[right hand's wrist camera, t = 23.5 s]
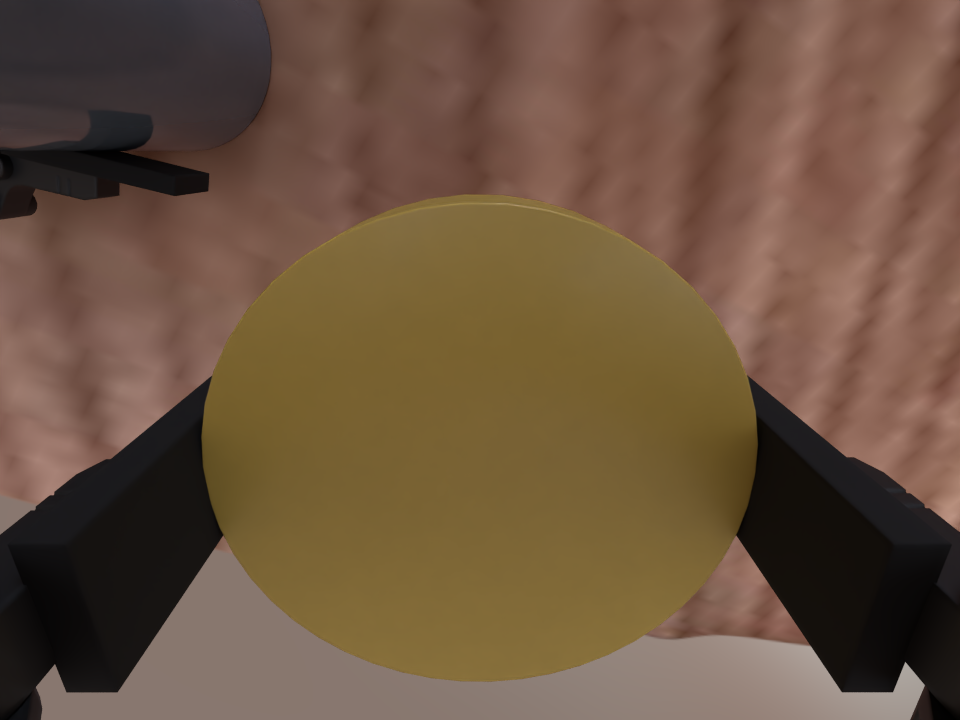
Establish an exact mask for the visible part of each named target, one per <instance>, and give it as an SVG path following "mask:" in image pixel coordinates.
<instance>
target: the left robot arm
mask: <svg viewBox="0 0 960 720" xmlns="http://www.w3.org/2000/svg"><path fill="white" fill-rule="evenodd" d="M119 183H123V184H127V185H131V186H136V187H140V188H144V189H148V190H152V191H156V192H160V193H164V194H168V195H173V196H178V195H185V194H192V193H199V192H206V191H208V187H209V173H205V172H201V171H197V170H193V169H189V168H185V167H181V166H177V165H173V164H169V163H165V162H161V161H156V160H152V159H148V158H144V157H140V156H136V155H132V154H128V153H124V152H120V151H0V220H1V219H8V218H15V217H21V216H28V215H32V214H33V213H35V211H36V209H37V202H36V199H35V197H34V196H33V193H34V191H35V189H40V190H45V191H49V192H53V193H57V194H61V195H65V196H71V197H74V198H78V199H82V200H89V199H98V198H106V197H113V196H119Z"/></svg>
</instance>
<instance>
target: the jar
mask: <svg viewBox="0 0 960 720" xmlns="http://www.w3.org/2000/svg"><path fill="white" fill-rule="evenodd" d="M270 70H271V49H270V40H269V34H268V30H267V26H266V22H265V19H264V16H263V13H262V10H261V7H260V5H259V3H258V1H257V0H0V151H201V150H208V149H211V148H215V147H218V146H221V145H223V144H225V143H227V142H229V141H231V140H232V139H233V138H235V137H236V136H238V135H239V134H240V133H241V132H242V131H243V130H244V129H246V128H247V127H248V125H249V124H250V123H251V122H252V120H253V119H254V118H255V116H256V114H257V113H258V111H259V109H260V107H261V106H262V103H263V100H264V98H265V95H266V92H267V88H268V84H269V79H270Z"/></svg>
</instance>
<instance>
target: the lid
mask: <svg viewBox="0 0 960 720" xmlns="http://www.w3.org/2000/svg"><path fill="white" fill-rule="evenodd" d="M201 439H202V459H203V469H204V474H205V478H206V483H207V488H208V492H209V497H210V501H211V505H212V508H213V511H214V513H215V516H216V519H217V522H218V525H219V527H220V529H221V531H222V533H223V535H224V537H225V539H226V541H227V543H228V544H229V546H230V548H231V550H232V552H233V554H234V555H235V557H236V558H237V560H238V561H239V563H240V564H241V565H242V567H243V568H244V570H245V571H246V572H247V574H248V575H249V577H250V578H251V579H252V580H253V581H254V583H255V584H256V585H257V586H258V587H259V588H260V589H261V590H262V591H263V592H264V594H265V595H266V596H267V597H268V598H269V599H270V600H271V601H272V602H273V603H274V604H275V605H276V606H278V607H279V608H280V609H281V610H282V611H283V612H285V613H286V614H287V615H288V616H289V617H290V618H291V619H293V620H294V621H295V622H297V623H298V624H300V625H301V626H302V627H304V628H305V629H307V630H308V631H310V632H311V633H313V634H314V635H316V636H317V637H319V638H320V639H322V640H324V641H326V642H328V643H330V644H331V645H333V646H335V647H337V648H339V649H341V650H342V651H344V652H347V653H349V654H351V655H354V656H356V657H359V658H361V659H363V660H366V661H368V662H371V663H373V664H376V665H380V666H383V667H386V668H390V669H393V670H396V671H399V672H403V673H408V674H414V675H418V676H423V677H428V678H435V679H445V680H454V681H485V682H492V681H504V680H517V679H524V678H530V677H536V676H542V675H547V674H552V673H556V672H559V671H563V670H566V669H570V668H573V667H577V666H581V665H583V664H586V663H588V662H591V661H593V660H596V659H599V658H601V657H604V656H606V655H609V654H611V653H612V652H614V651H616V650H618V649H620V648H622V647H624V646H626V645H628V644H630V643H632V642H634V641H636V640H637V639H639V638H640V637H642V636H643V635H645V634H647V633H648V632H650V631H651V630H653V629H654V628H656V627H657V626H659V625H660V624H661V623H663V622H664V621H665V620H666V619H668V618H669V617H670V616H671V615H672V614H674V613H675V612H676V611H677V610H679V609H680V608H681V607H682V606H683V605H684V604H685V603H686V602H687V601H688V600H689V599H690V598H691V597H692V596H693V595H694V594H695V593H696V592H697V591H698V590H699V589H700V588H701V587H702V586H703V585H704V583H705V582H706V581H707V579H708V578H709V577H710V575H711V574H712V573H713V571H714V570H715V569H716V567H717V566H718V565H719V563H720V562H721V561H722V559H723V557H724V556H725V554H726V552H727V550H728V549H729V547H730V545H731V543H732V541H733V540H734V538H735V536H736V534H737V532H738V530H739V527H740V525H741V522H742V520H743V517H744V514H745V512H746V509H747V507H748V504H749V499H750V495H751V490H752V486H753V482H754V477H755V472H756V461H757V449H758V438H757V424H756V411H755V406H754V402H753V398H752V393H751V389H750V385H749V381H748V377H747V375H746V372H745V370H744V367H743V365H742V362H741V360H740V358H739V355H738V353H737V350H736V348H735V346H734V344H733V342H732V341H731V339H730V337H729V336H728V334H727V332H726V331H725V329H724V327H723V326H722V324H721V322H720V321H719V319H718V317H717V316H716V315H715V313H714V312H713V311H712V310H711V309H710V307H709V306H708V305H707V304H706V303H705V302H704V300H703V299H702V298H701V297H700V296H699V294H698V293H697V292H696V291H695V290H694V288H693V287H692V286H691V285H689V284H688V283H687V282H686V281H685V280H684V279H683V278H681V277H680V276H679V275H678V274H677V273H676V272H675V271H674V270H672V269H671V268H670V267H669V266H668V265H667V264H666V263H664V262H663V261H662V260H660V259H659V258H657V257H656V256H654V255H653V254H651V253H649V252H648V251H646V250H645V249H643V248H642V247H640V246H639V245H637V244H636V243H634V242H632V241H631V240H629V239H628V238H626V237H624V236H622V235H621V234H619V233H617V232H615V231H613V230H612V229H610V228H608V227H606V226H605V225H602V224H600V223H598V222H596V221H594V220H592V219H589V218H587V217H585V216H583V215H581V214H578V213H576V212H574V211H571V210H568V209H565V208H561V207H558V206H555V205H551V204H548V203H545V202H541V201H538V200H531V199H525V198H518V197H512V196H505V195H470V194H465V195H457V196H449V197H440V198H432V199H427V200H423V201H419V202H415V203H412V204H408V205H404V206H400V207H396V208H393V209H391V210H389V211H386V212H384V213H381V214H379V215H377V216H374V217H372V218H369V219H367V220H365V221H362V222H360V223H359V224H357V225H355V226H353V227H351V228H350V229H348V230H346V231H344V232H343V233H341V234H339V235H337V236H336V237H334V238H332V239H331V240H329V241H327V242H326V243H324V244H322V245H321V246H319V247H317V248H316V249H314V250H312V251H311V252H309V253H307V254H306V255H304V256H303V257H301V258H300V259H299V260H298V261H297V262H295V263H294V264H293V265H292V266H290V267H289V268H288V269H287V270H286V271H284V272H283V273H282V274H281V275H279V276H278V277H277V278H276V279H275V280H273V281H272V283H271V284H270V285H269V286H268V287H267V288H266V289H265V290H264V291H263V292H262V294H261V295H260V296H259V297H258V298H257V299H256V300H255V301H254V302H253V304H252V305H251V306H250V307H249V308H248V309H247V311H246V312H245V314H244V315H243V317H242V318H241V320H240V321H239V323H238V325H237V326H236V328H235V329H234V331H233V332H232V334H231V335H230V337H229V338H228V340H227V342H226V345H225V347H224V349H223V351H222V353H221V356H220V358H219V360H218V362H217V365H216V367H215V369H214V372H213V375H212V379H211V383H210V386H209V390H208V394H207V397H206V401H205V407H204V417H203V426H202V435H201Z"/></svg>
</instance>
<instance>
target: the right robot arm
mask: <svg viewBox="0 0 960 720" xmlns="http://www.w3.org/2000/svg"><path fill="white" fill-rule="evenodd" d="M747 377H748V381H749V385H750V389H751V393H752V398H753V402H754V406H755V411H756V424H757V438H758V449H757V461H756V472H755V477H754V482H753V486H752V490H751V495H750V499H749V504H748V507H747V509H746V512H745V514H744V517H743V520H742V522H741V525H740V527H739V530H738V532H737V534H736V536H737V537H738V538H739V540H740V541H741V543H742V544H743V546H744V547H745V549H746V550H747V552H748V553H749V555H750V556H751V558H752V559H753V561H754V562H755V564H756V565H757V567H758V568H759V570H760V571H761V573H762V574H763V576H764V577H765V579H766V580H767V582H768V583H769V585H770V586H771V587H772V589H773V590H774V592H775V593H776V595H777V596H778V598H779V599H780V601H781V602H782V604H783V605H784V607H785V608H786V610H787V611H788V613H789V614H790V616H791V617H792V619H793V620H794V622H795V623H796V625H797V626H798V628H799V629H800V631H801V632H802V633H803V635H804V636H805V638H806V639H807V641H808V642H809V644H810V645H811V647H812V648H813V650H814V651H815V653H816V654H817V656H818V657H819V659H820V660H821V662H822V663H823V665H824V666H825V668H826V669H827V671H828V672H829V674H830V675H831V676H832V678H833V680H834V681H835V682H836V684H837V685H838V687H839V688H840V690H841V691H842V692H893V691H894V688H895V686H896V683H897V681H898V678H899V676H900V673H901V671H902V668H903V666H904V664H905V662H906V663H907V664H908V665H909V667H910V668H911V669H912V670H913V671H914V673H915V674H916V675H917V676H918V677H919V679H920V680H921V681H922V682H923V683H924V684H925V687H924V689H923V691H922V694H921V696H920V698H919V701H918V703H917V705H916V708H915V710H914V712H913V715H912V717H911V719H910V720H960V532H959V531H957V530H956V529H955V528H954V527H952V526H951V525H950V524H949V523H947V522H946V521H945V520H943V519H942V518H941V517H940V516H938V515H937V514H936V513H935V512H933V511H932V510H931V509H929V508H925V507H924V504H923V503H922V502H921V501H919V500H918V499H917V498H916V497H914V496H913V495H912V494H910V493H906V490H905V489H904V488H903V487H902V486H900V485H899V484H898V483H896V482H895V481H894V480H893V479H891V478H890V477H889V476H888V475H886V474H885V473H884V472H882V471H880V470H878V469H876V468H874V467H872V466H870V465H868V464H866V463H864V462H862V461H860V460H858V459H856V458H854V457H846V456H844V455H843V454H842V453H841V452H839V451H838V450H837V449H836V448H835V447H833V446H832V445H831V444H830V443H829V442H827V441H826V440H825V439H824V438H822V437H821V436H820V435H819V434H818V433H816V432H815V431H814V430H813V429H812V428H810V427H809V426H808V425H807V424H806V423H804V422H803V421H802V420H801V419H799V418H798V417H797V416H796V415H795V414H793V413H792V412H791V411H790V410H789V409H787V408H786V407H785V406H784V405H782V404H781V403H780V402H779V401H778V400H776V399H775V398H774V397H773V396H772V395H770V394H769V393H768V392H767V391H766V390H764V389H763V388H762V387H761V386H759V385H758V384H757V383H756V382H755V381H753V380H752V379H751V378H750V377H749V376H747ZM211 379H212V376H211V377H210V378H209V379H207V380H206V381H205V382H204V383H203V384H201V385H200V386H199V387H198V388H197V389H195V390H194V391H193V392H192V393H190V394H189V395H188V396H187V397H186V398H184V399H183V400H182V401H181V402H180V403H178V404H177V405H176V406H175V407H173V408H172V409H171V410H170V411H169V412H167V413H166V414H165V415H164V416H163V417H161V418H160V419H159V420H158V421H157V422H155V423H154V424H153V425H152V426H150V427H149V428H148V429H147V430H146V431H144V432H143V433H142V434H141V435H140V436H138V437H137V438H136V439H135V440H133V441H132V442H131V443H130V444H129V445H127V446H126V447H125V448H124V449H123V450H121V451H120V452H119V453H118V454H117V455H115V456H114V457H113V458H112V459H106V460H104V461H102V462H100V463H98V464H96V465H94V466H92V467H90V468H88V469H86V470H84V471H82V472H80V473H78V474H76V475H75V476H74V477H73V478H71V479H70V480H69V481H68V482H66V483H65V484H64V485H62V486H61V487H60V488H59V489H57V490H56V491H55V492H54V493H55V494H54V495H50V496H49V497H47V498H46V499H45V500H44V501H42V502H41V503H40V504H39V505H37V506H36V509H35V511H30V512H28V513H27V514H26V515H25V516H23V517H22V518H21V519H20V520H18V521H17V522H16V523H15V524H13V525H12V526H11V527H10V528H8V529H7V530H6V531H4V532H3V533H2V534H1V535H0V720H41V714H42V705H41V700H40V696H39V694H38V692H37V689H36V686H37V685H38V684H39V682H40V681H41V680H42V679H43V678H44V676H45V675H46V674H47V673H48V672H49V670H50V669H51V668H52V667H53V666H54V664H55V665H56V667H57V670H58V672H59V675H60V677H61V680H62V682H63V685H64V687H65V690H66V692H118V691H119V689H120V688H121V686H122V685H123V683H124V682H125V680H126V679H127V677H128V676H129V675H130V673H131V672H132V670H133V669H134V667H135V666H136V664H137V663H138V661H139V660H140V658H141V657H142V655H143V654H144V652H145V651H146V649H147V648H148V646H149V645H150V643H151V642H152V640H153V639H154V637H155V636H156V634H157V633H158V631H159V630H160V629H161V627H162V625H163V624H164V623H165V621H166V620H167V618H168V617H169V615H170V614H171V612H172V611H173V609H174V608H175V606H176V605H177V603H178V602H179V600H180V599H181V597H182V596H183V594H184V593H185V591H186V590H187V588H188V587H189V585H190V584H191V582H192V581H193V580H194V578H195V576H196V575H197V574H198V572H199V571H200V569H201V568H202V566H203V565H204V563H205V562H206V560H207V559H208V557H209V556H210V554H211V553H212V551H213V550H214V548H215V547H216V545H217V544H218V542H219V541H220V539H221V538H222V536H223V533H222V531H221V529H220V527H219V525H218V522H217V519H216V516H215V513H214V511H213V508H212V505H211V501H210V497H209V492H208V488H207V483H206V478H205V474H204V469H203V459H202V439H201V435H202V426H203V417H204V407H205V401H206V397H207V394H208V390H209V386H210V383H211Z"/></svg>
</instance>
